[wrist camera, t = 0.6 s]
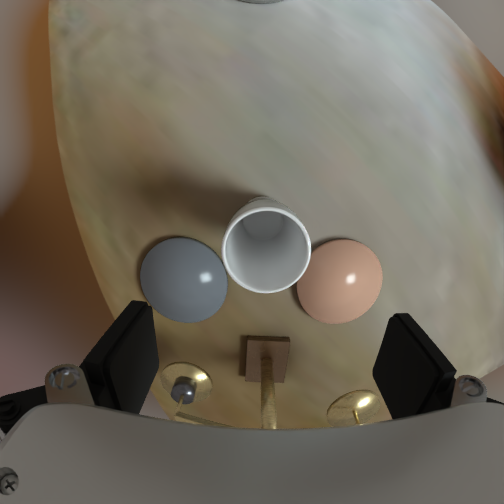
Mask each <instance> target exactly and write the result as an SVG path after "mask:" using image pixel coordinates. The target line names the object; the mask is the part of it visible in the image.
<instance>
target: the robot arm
mask: <svg viewBox="0 0 504 504" xmlns="http://www.w3.org/2000/svg"><path fill="white" fill-rule="evenodd" d="M241 1H245V2H250V3H274V2H279V1H283V0H241ZM158 368H159V357H158V351H157V344H156V336H155V329H154V320H153V311H152V307H151V306H148V304H147V302H143V301H135V300H132V301H131V302H130V303H129V304H128V306H127V307H126V308H125V309H124V310H123V312H122V313H121V314H120V315H119V316H118V318H117V319H116V320H115V321H114V323H113V324H112V325H111V326H110V327H109V329H108V330H107V331H106V332H105V334H104V335H103V336H102V337H101V339H100V340H99V341H98V342H97V344H96V345H95V346H94V347H93V349H92V350H91V352H90V353H89V354H88V355H87V356H86V358H85V359H84V361H83V362H82V363H81V365H80V366H79V367H78V366H76V365H73V364H61V365H58V366H55V367H54V368H52V369H51V370H49V372H48V373H47V374H46V376H45V385H44V386H40V387H36V388H33V389H29V390H25V391H21V392H17V393H13V394H8V395H5V396H2V397H1V398H0V504H504V403H501V402H499V401H496V400H493V399H490V398H487V389H486V386H485V385H484V384H483V382H482V381H481V380H479V379H478V378H476V377H474V376H471V375H462V376H459V377H458V378H457V379H455V378H454V375H455V373H456V371H457V370H456V369H455V368H454V367H453V365H452V364H451V363H450V362H449V360H448V359H447V358H446V357H445V355H444V354H443V353H442V352H441V351H440V349H439V348H438V347H437V346H436V345H435V343H434V342H433V341H432V340H431V339H430V338H429V336H428V335H427V334H426V333H425V332H424V331H423V329H422V328H421V327H420V326H419V325H418V324H417V323H416V321H415V320H414V319H413V318H412V317H411V316H410V315H409V314H408V313H396V314H394V315H393V317H391V318H390V319H389V321H388V325H387V328H386V331H385V335H384V338H383V341H382V344H381V347H380V350H379V353H378V356H377V359H376V362H375V365H374V367H373V378H374V380H375V382H376V384H377V386H378V388H379V390H380V392H381V395H382V397H383V399H384V401H385V403H386V405H387V408H388V410H389V412H390V414H391V417H392V419H393V420H387V421H380V422H373V423H366V424H358V425H348V426H337V427H324V428H303V429H259V428H237V427H223V426H212V425H203V424H194V423H187V422H180V421H173V420H167V419H161V418H155V417H149V416H144V415H140V414H139V412H140V410H141V408H142V405H143V403H144V401H145V398H146V396H147V394H148V391H149V389H150V387H151V384H152V382H153V380H154V378H155V375H156V373H157V371H158Z"/></svg>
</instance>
